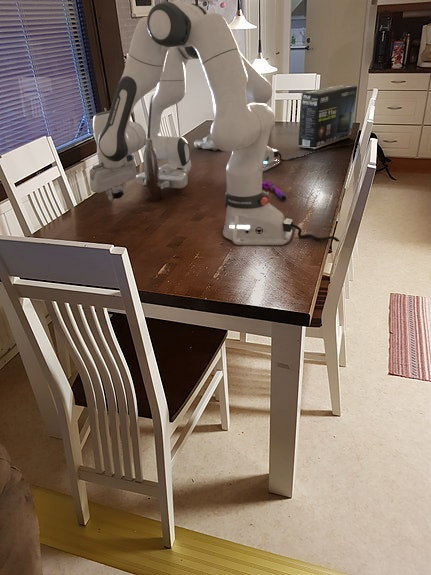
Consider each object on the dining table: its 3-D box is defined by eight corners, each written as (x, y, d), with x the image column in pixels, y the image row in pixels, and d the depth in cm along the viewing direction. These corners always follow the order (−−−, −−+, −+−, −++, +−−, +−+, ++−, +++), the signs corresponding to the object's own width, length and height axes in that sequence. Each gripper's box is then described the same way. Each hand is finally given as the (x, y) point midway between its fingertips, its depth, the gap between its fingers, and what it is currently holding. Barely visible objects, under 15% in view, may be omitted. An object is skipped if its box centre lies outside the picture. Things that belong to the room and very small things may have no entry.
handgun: (253, 185, 189) (253, 181, 188) (271, 183, 190) (271, 179, 189) (267, 202, 172) (267, 197, 171) (287, 200, 173) (287, 195, 172)
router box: (314, 151, 231) (318, 94, 217) (296, 148, 237) (299, 92, 224) (352, 138, 251) (358, 85, 238) (335, 135, 258) (340, 83, 245)
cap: (124, 196, 168) (123, 190, 167) (114, 199, 165) (114, 193, 164) (118, 194, 170) (117, 188, 169) (108, 197, 168) (108, 191, 167)
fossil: (217, 145, 233) (197, 126, 236) (207, 162, 240) (188, 144, 243) (235, 143, 247) (216, 125, 250) (225, 159, 253) (207, 142, 257)
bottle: (155, 202, 177) (149, 141, 165) (145, 200, 180) (137, 139, 168) (164, 198, 181) (158, 138, 169) (153, 195, 183) (147, 136, 171)
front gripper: (95, 168, 152) (102, 208, 159) (137, 153, 166) (141, 190, 173) (82, 166, 155) (89, 204, 162) (124, 151, 169) (129, 187, 177)
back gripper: (144, 166, 189) (127, 176, 178) (190, 169, 183) (175, 180, 172) (146, 180, 193) (129, 191, 182) (191, 185, 186) (176, 196, 175)
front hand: (116, 197), depth 168 cm, fingers closed on cap, 4 cm apart
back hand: (152, 186), depth 177 cm, fingers closed on bottle, 5 cm apart
